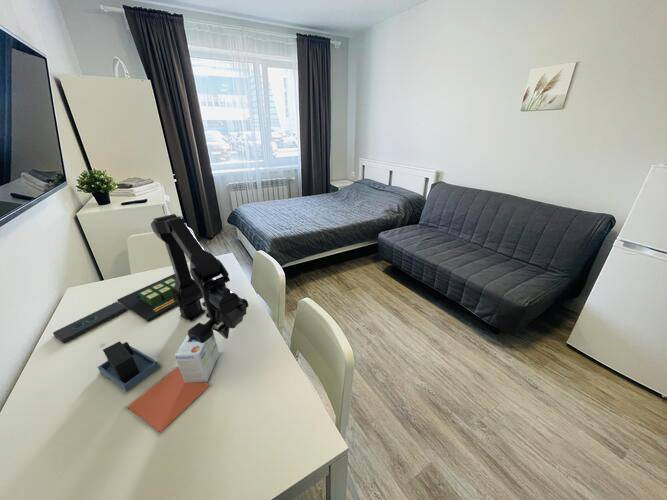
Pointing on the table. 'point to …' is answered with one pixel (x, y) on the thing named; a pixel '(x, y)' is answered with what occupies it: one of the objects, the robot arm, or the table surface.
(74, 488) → the table surface
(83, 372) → the table surface
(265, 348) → the table surface
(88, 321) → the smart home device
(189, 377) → the light bulb box
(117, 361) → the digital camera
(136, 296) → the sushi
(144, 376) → the slate tray
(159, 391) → the terracotta mat
